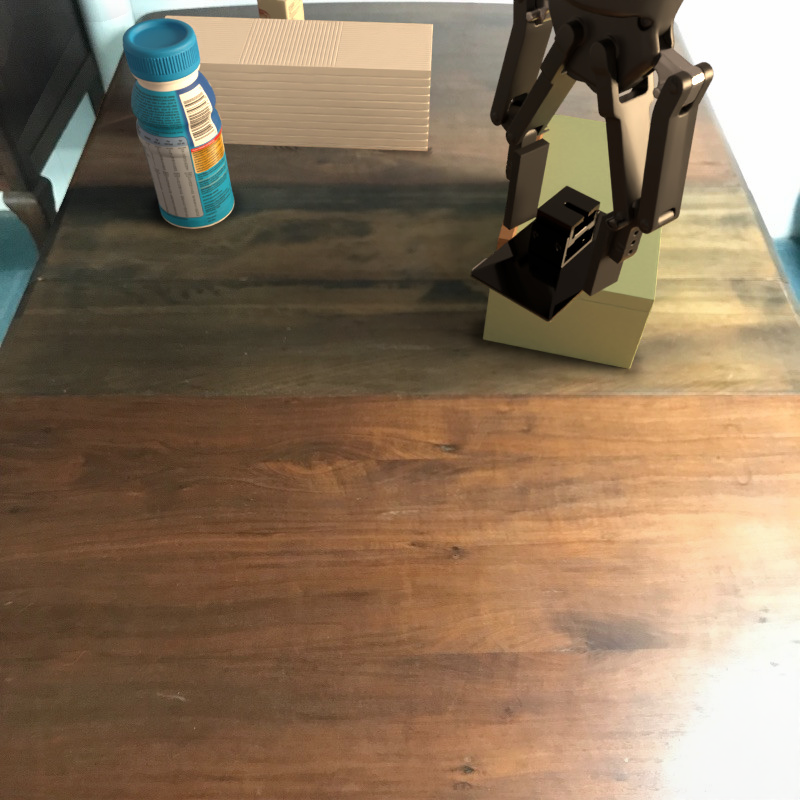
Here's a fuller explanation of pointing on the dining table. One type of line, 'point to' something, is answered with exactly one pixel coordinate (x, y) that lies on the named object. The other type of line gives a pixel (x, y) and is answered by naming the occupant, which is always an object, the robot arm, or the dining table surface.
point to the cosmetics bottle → (281, 9)
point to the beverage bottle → (178, 123)
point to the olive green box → (587, 315)
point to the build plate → (546, 256)
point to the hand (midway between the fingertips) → (558, 251)
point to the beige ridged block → (318, 81)
